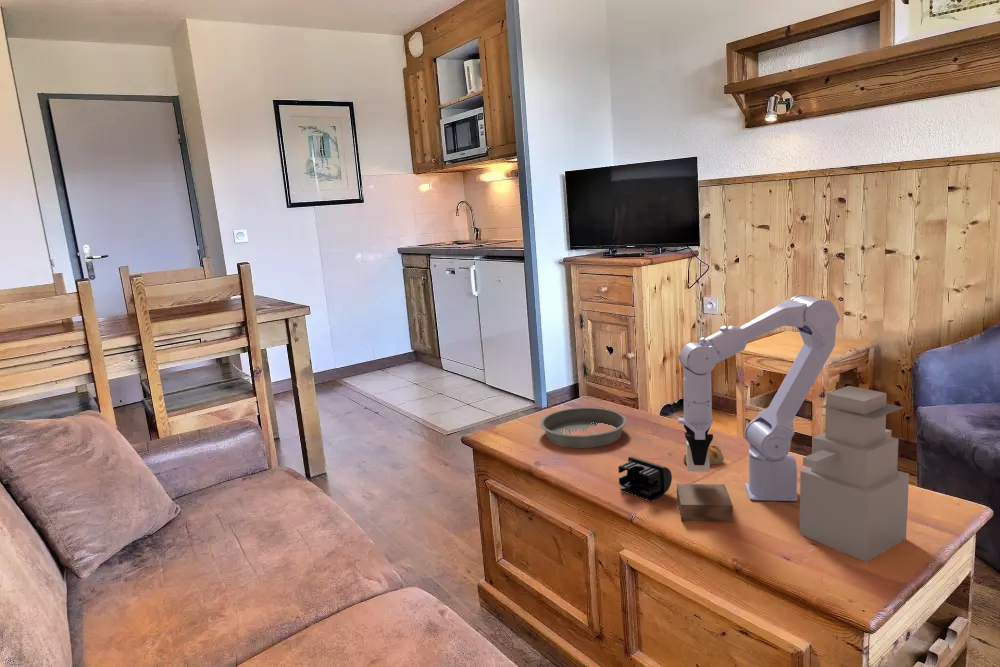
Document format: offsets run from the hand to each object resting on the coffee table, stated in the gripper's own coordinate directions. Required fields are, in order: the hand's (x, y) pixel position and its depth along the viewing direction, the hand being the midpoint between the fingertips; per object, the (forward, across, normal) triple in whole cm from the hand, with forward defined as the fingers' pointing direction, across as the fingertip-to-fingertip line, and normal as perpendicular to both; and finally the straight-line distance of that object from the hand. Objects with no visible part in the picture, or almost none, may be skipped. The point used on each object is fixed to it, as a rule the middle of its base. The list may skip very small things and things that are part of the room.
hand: (698, 460), depth 140 cm
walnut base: (+9, +6, +1) cm, 11 cm away
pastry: (+9, -22, +3) cm, 24 cm away
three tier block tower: (+9, +14, +27) cm, 32 cm away
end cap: (+9, -3, -12) cm, 15 cm away
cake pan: (+9, -40, -29) cm, 50 cm away
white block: (+2, 0, 0) cm, 2 cm away
